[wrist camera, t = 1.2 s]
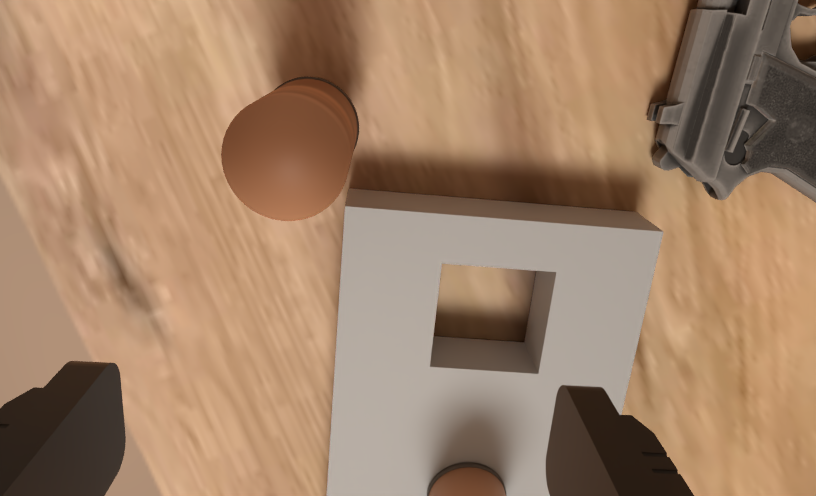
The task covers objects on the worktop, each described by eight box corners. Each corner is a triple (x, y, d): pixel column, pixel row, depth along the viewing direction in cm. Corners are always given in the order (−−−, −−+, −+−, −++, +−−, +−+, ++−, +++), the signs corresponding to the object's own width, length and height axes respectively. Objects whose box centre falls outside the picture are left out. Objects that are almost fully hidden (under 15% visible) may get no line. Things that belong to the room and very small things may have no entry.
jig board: (348, 188, 28) (332, 263, 19) (636, 211, 29) (748, 294, 20) (327, 519, 34) (307, 694, 25) (567, 530, 35) (631, 705, 26)
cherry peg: (275, 67, 27) (219, 88, 18) (364, 75, 27) (355, 100, 18) (272, 155, 28) (219, 217, 19) (358, 163, 28) (346, 227, 19)
